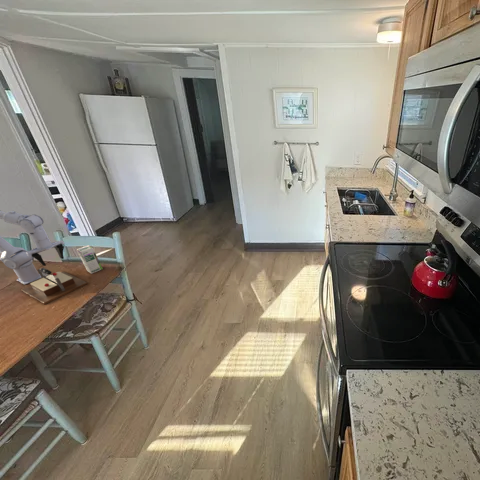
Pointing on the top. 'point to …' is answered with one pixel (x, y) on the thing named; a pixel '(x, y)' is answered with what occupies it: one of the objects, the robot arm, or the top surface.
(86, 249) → the syrup box
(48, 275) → the cleaver knife
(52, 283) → the cake
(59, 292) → the cutting board
